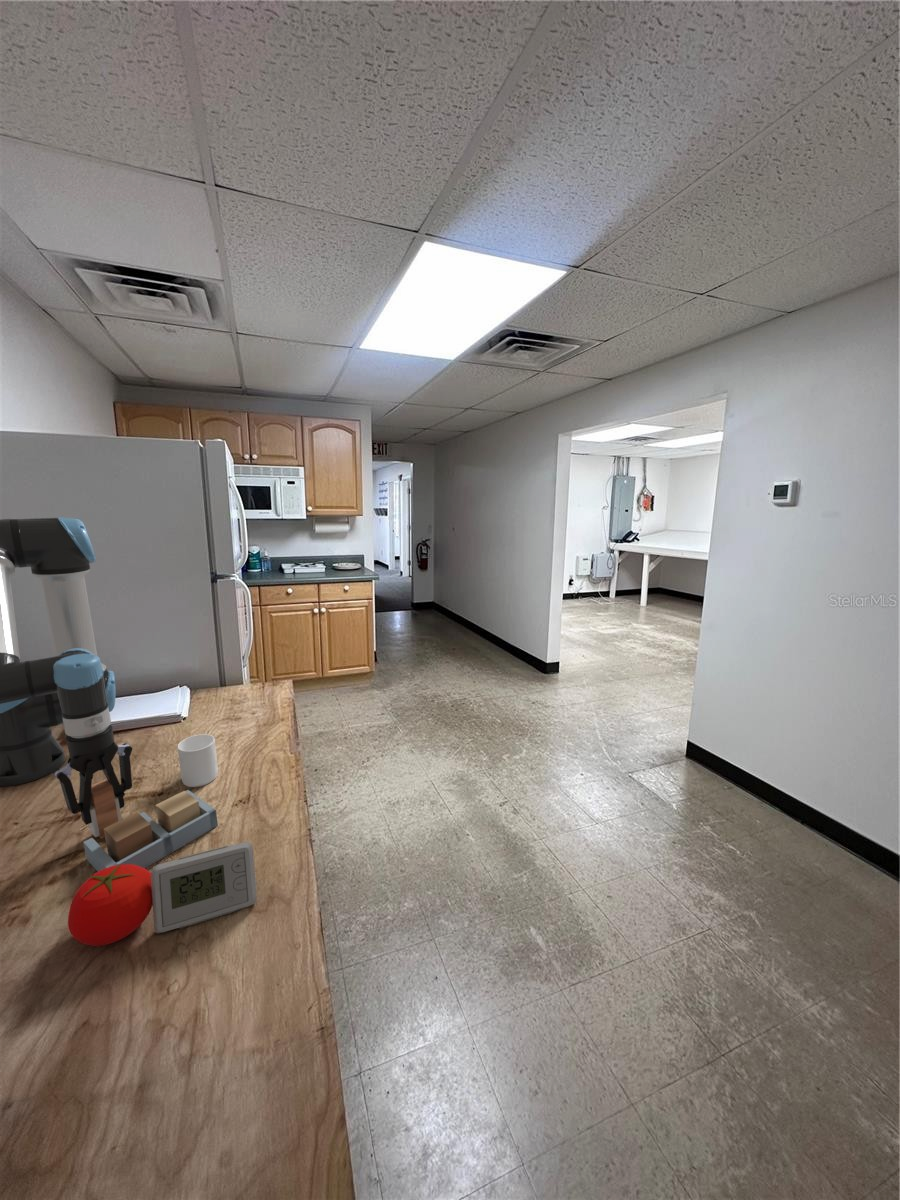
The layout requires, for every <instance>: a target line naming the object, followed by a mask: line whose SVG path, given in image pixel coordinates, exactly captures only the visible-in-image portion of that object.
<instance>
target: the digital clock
mask: <svg viewBox="0 0 900 1200" xmlns="http://www.w3.org/2000/svg"><path fill="white" fill-rule="evenodd" d="M254 856H255V855H254V848H253V844H252V843H251V842H250V841H243V842H239V843H235V844H231V845H223V846H219V847H217V848H211V849H208V850H204V851H200V852H196V853H193V854H189V855H185V856H181V857H178V858H177V859H174V860H173V859H172V860H170V861H164V862H161V863H159V864H156V865H155V866H153V867H152V869H151V871H150V873H151V886H152V902H153V906H152V911H153V912H152V916H153V928H154V931H155V933H157V934H162V933H166V932H169V931H172V930H176V929H178V928H179V929H183V928H186V927H189V926H192V925H196V924H199V923H202V922H205V921H209V920H212V919H215V918H219V917H221V916H225V915H229V914H231V913H234V912H236V911H238V910H241V909H244V908H247V907H250V906H253V905H254V904H256V902H257V897H258V895H257V893H258V892H257V883H256V882H257V881H256V871H255V857H254Z"/></svg>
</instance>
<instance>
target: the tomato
mask: <svg viewBox="0 0 900 1200" xmlns="http://www.w3.org/2000/svg"><path fill="white" fill-rule="evenodd" d="M88 877H89V878H87V879H86V881H84V882H83V884H81V885H80V887H79V888H78V889H77V891H76V892H75V894H74V896H73V898H72V900H71V903H70V907H69V911H68V917H67V926H68V930H69V933H70V935H71V936H72V938H73V939H74V940H75V941H78V942H79V943H81V944H84V945H87V946H93V947H94V946H96V947H101V946H105V945H109V944H113V943H115V942H118V941H121V940H123V939H124V938H126V937H127V936H129V935H130V934H132V933H133V932H135V930H136V929H137V928H139V927H140V926H141V925H142V924H143V923H144V921H145V920H146V919H147V917H148V916H149V915H150V912H151V910H152V909H153V902H152V886H151V871H149V870H148V869H147V868H143V867H140V866H137V865H132V864H126V865H121V864H120V865H116V866H111V867H108V868H105V869H103V870H100V871H99V872H98V871H97V872H95V873H94V874H92V875H89V876H88Z"/></svg>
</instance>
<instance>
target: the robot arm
mask: <svg viewBox="0 0 900 1200" xmlns="http://www.w3.org/2000/svg"><path fill="white" fill-rule="evenodd" d="M88 534H89V533H88V531H87V528H86V526H85V524H84V522H83V521H82V520H80V519H78V518H72V517H41V518H40V517H38V518H4V519H3V518H1V519H0V787H9V786H16V785H21V784H26V783H29V782H32V781H33V782H34V781H36V780H38V779H41V778H43V777H45V776H48V775H50V774H53V775H54V776H55V777H56V779H57V780H59V783H60V786H61V791H62V793H63V797H64V801H65V803H66V807H67V809H68V810H69V811H70V812H71V814H73V815H76V814H78V813H80V816H81V821H82V822H83V823H84V824H85V825H86V826H87V825H89V830H90V833H91V834H92V835H93V836H94V837H95V838H97V837H99V835H100V833H99V828H98V822H97V817H96V811H95V808H94V807H93V806H92V805H91V785H93V784H92V781H93V779H94V774H95V773H97V772H99V771H103V773H104V776H105V778H106V780H107V781H108V782H109V783H110V784H112V786H113V792H114V798H115V803H116V809H117V815H118V821H120V820H122V819H123V818H122V812H121V809H122V808H124V807H125V805H126V804H125V800H124V799H125V798H124V797H125V795H126V793H125V792H126V791H127V790H131V789H132V787H133V780H132V778H133V777H132V767H131V755H132V752H133V747H132V746H131V745H130V744H128V743H126V742H125V743H123V744H117V743H115V736H114V731H113V726H112V719H111V712H112V711H113V710H114V708H115V706H116V677H115V672H114V671H113V670H109V669H107V665H106V664H104V663H103V662H102V661H101V658H100V657H99V656H98V652H97V644H96V640H95V638H96V637H95V633H94V627H93V620H92V616H91V608H90V603H89V602H90V601H89V598H88V592H87V591H88V590H87V585H86V584H87V583H86V578H85V576H86V575H87V574H88V573H89V572H90V571H91V565H90V564H93V563H95V562H96V560H97V559H96V556H95V555H96V554H95V552H94V548H93V545H92V542H91V539H90V537H89V535H88ZM16 568H30V570H31V575H32V576H34V577H36V578H38V579H39V580H40V581H41V585H42V590H43V595H44V602H45V606H46V607H45V608H46V611H47V617H48V621H49V622H48V623H49V628H50V633H51V638H52V639H51V640H52V643H53V648H54V653H55V656H49V657H44V658H38V659H32V660H25V661H21V655H20V648H19V645H20V644H19V639H18V630H17V624H16V623H17V621H16V614H15V606H14V597H13V590H12V581H11V577H12V576H13V575H14V574H15V572H16ZM61 725H62V726H63V728H64V734H65V735H66V736H65V737H66V738H65V739H66V744H67V745H66V746H67V750H68V754H69V755H68V759H67V758H66V752H65V750H64V748H63V747H62V745H61V744H60V743H59V742H58V740H57V738H56V736H54V735H53V732H52V728H53V727H56V726H61ZM115 755H118V762H119V772H120V773H119V776H120V782H119V779H118V777H117V775H116V773H115V770H114V769H115V768H114V766H113V765H112V762H113V759H114V758H115ZM66 760H67V764H66V765H64V764H65V762H66ZM63 765H64V766H63ZM62 766H63V767H62ZM61 767H62V768H61ZM72 770H75V771H76V772H79V774H78V775H79V790H78V791H79V793H78V794H79V795H78V800H77V796H76V794H75V793H76V792H75V790H74V787H73V783H72V780H71V779H70V778H71V776H72V773H71V771H72Z"/></svg>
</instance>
